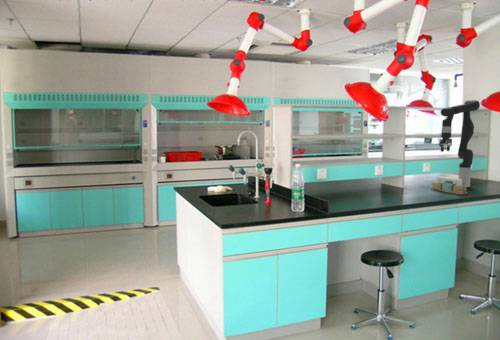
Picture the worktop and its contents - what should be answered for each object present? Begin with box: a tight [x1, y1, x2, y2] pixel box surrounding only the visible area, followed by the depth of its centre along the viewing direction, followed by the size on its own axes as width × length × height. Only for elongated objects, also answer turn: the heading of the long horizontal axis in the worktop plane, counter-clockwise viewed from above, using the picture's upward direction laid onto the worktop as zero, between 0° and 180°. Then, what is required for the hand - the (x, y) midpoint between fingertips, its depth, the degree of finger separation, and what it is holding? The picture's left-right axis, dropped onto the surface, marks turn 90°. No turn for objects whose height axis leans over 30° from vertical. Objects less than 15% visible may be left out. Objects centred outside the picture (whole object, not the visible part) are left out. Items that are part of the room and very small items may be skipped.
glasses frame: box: [436, 176, 462, 186], centre depth 349 cm, size 3×20×5 cm, turn 33°
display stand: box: [430, 180, 468, 195], centre depth 350 cm, size 8×27×9 cm, turn 33°
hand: (445, 151), depth 357 cm, fingers open, 8 cm apart
